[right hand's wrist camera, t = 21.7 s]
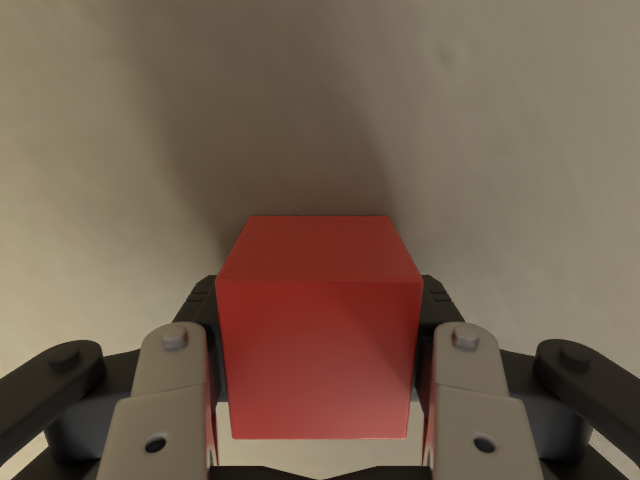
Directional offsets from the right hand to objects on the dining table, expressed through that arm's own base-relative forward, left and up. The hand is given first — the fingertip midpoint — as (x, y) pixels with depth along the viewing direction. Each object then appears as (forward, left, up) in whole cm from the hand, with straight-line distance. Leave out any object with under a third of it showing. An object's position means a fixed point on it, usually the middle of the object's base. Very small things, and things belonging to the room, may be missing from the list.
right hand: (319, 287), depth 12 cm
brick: (0, 0, 0) cm, 0 cm away
